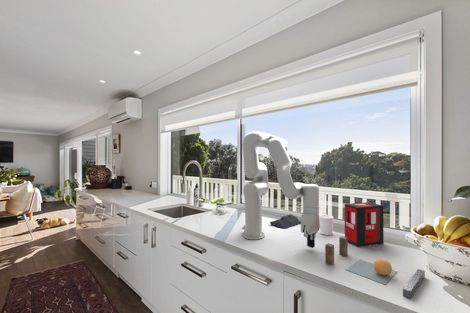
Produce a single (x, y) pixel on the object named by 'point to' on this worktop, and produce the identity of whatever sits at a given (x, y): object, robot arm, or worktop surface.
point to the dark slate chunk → (286, 222)
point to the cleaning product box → (364, 224)
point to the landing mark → (369, 271)
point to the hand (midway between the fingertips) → (310, 246)
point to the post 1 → (329, 254)
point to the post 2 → (343, 246)
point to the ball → (382, 267)
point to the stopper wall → (413, 284)
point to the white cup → (326, 224)
